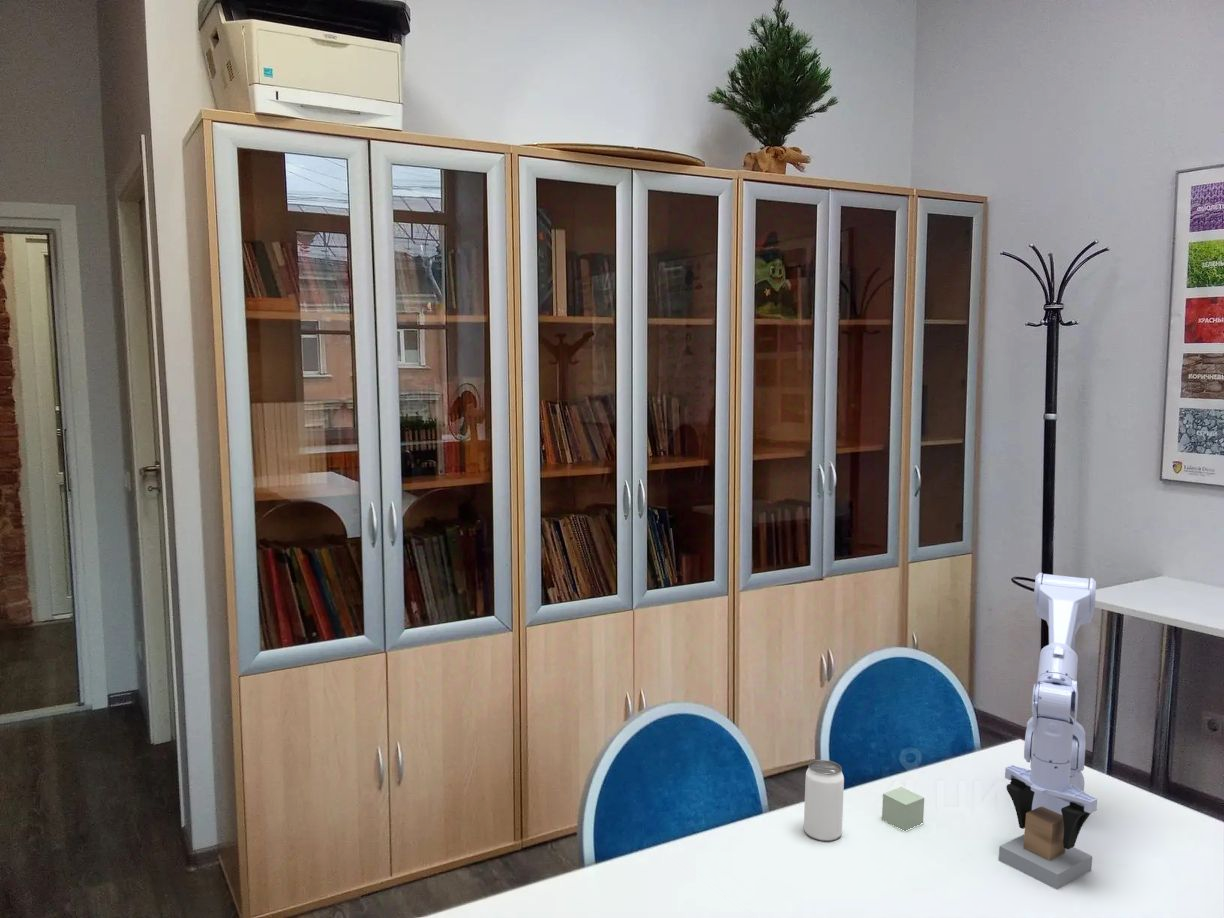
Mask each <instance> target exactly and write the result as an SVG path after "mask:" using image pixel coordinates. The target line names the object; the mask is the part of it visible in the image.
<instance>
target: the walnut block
mask: <svg viewBox="0 0 1224 918" xmlns="http://www.w3.org/2000/svg"><path fill="white" fill-rule="evenodd" d="M1023 835H1024V847H1023V848H1025V849H1027V850H1029V851H1031V852H1033V853H1035V854H1037V855H1039V856H1041V857H1043V858H1046V859H1048V860H1052V859H1054V858H1056V857H1058V856H1060V855H1062V854H1064V853H1065V848H1064V846H1063V837H1064V822H1063V816H1062V815H1061V814H1058V813H1056V812H1054V811H1051V810H1049V809H1047V808H1044V807H1042V806H1041V807H1039V808H1036V809H1034V810H1032V811H1029V812H1027V813H1026V820H1025V828H1024V834H1023Z"/></svg>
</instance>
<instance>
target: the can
mask: <svg viewBox="0 0 1224 918" xmlns="http://www.w3.org/2000/svg"><path fill="white" fill-rule="evenodd" d="M842 768H843V767H842V766H841V765H840V764H839V763H837V762H835V761H833V760H827V759H816V760H815V759H814V760H811V761H810V762H809V763H808V768H807V770H806V772H805V781H804V783H805V788H804V789H805V790H804V810H803V811H804V815H803V816H804V817H803V830H804V832H805V833H806V835H807V836H808V837H810V838H811V839H813V840H816V841H821V842H832V841H836V840H838V839H840V837H842V834H843V817H844V816H843V814H844V791H845V789H844V787H845V777H844V774H843V771H842V770H843V769H842Z"/></svg>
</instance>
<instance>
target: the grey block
mask: <svg viewBox="0 0 1224 918" xmlns="http://www.w3.org/2000/svg"><path fill="white" fill-rule="evenodd" d="M1023 847H1024V834H1022V835H1019V836H1018V837H1016V838H1013V839H1011V840H1009V841H1007V842H1005V843H1002V844H1001V845H999V846H998V850H999V851H998V861H999V862H1001V863H1003V864H1005V865H1008V866H1009V867H1011V868H1013V869H1015V870H1017V871H1019V872H1020V873H1021V872H1022V873H1023V874H1026V875H1027V876H1028V877H1031V878H1034V879H1035V880H1037V881H1039V882H1041V883H1044V884H1045V885H1047V886H1050V887H1051V888H1053V889H1055V890H1058V889H1060V888H1062V887H1064V886H1066V885H1068V884H1069V883H1072V882H1073V881H1075V880H1077V879H1079V878H1081V877H1082V876H1084V875H1086V874H1088V873H1090V872H1091V871H1092V868H1093V867H1092V866H1093V855H1092V854H1089V853H1087V852H1085V851H1082V850H1080V849H1078V848H1076V847H1075V846H1074V847H1072V848H1070V849H1066V848H1065V853H1064V854H1062V855H1060V856H1058V857H1056V858H1054V859H1052V860H1048V859H1046V858H1043V857H1041V856H1039V855H1037V854H1035V853H1033V852H1031V851H1029V850H1027V849H1025V848H1023Z"/></svg>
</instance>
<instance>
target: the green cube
mask: <svg viewBox="0 0 1224 918" xmlns="http://www.w3.org/2000/svg"><path fill="white" fill-rule="evenodd" d="M881 809H882V811H881V820H882V821H883V820H884V821H883V822H885V821H887V822H888V823H887V822H886V823H887V824H889V823H890V824H889V825H891V824H892V825H891V826H893V825H894V826H893V827H895V826H896V827H898V828H900V829H902V830H904V831H906V830H908V829H910V828H913V827H914V826H917V825H920V824H921V823H923V824H924V814H925V813H924V811H925V797H924V796H921V795H919V794H917V793H916V792H913V791H910V790H909V789H907V788H904V787H902V786H900V787H897V788H895V789H892V790H890V791H887V792H884V793H882V807H881ZM920 826H921V825H920ZM896 827H895V828H896ZM898 828H897V829H898ZM900 829H899V830H900ZM913 829H914V828H913ZM902 830H901V831H902ZM910 830H911V829H910ZM904 831H903V832H904ZM908 831H909V830H908ZM906 832H907V831H906Z"/></svg>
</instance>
